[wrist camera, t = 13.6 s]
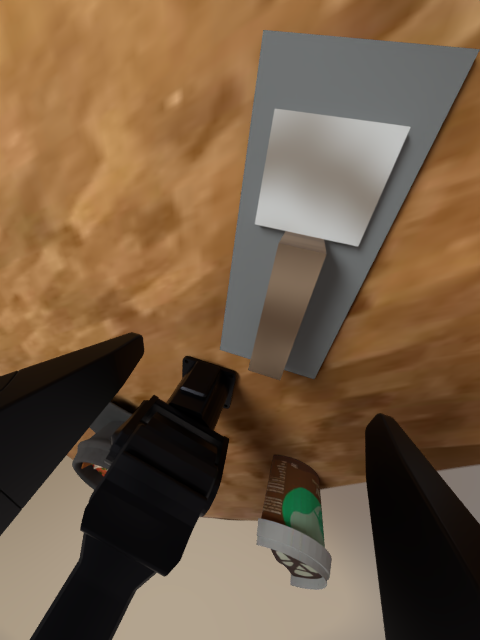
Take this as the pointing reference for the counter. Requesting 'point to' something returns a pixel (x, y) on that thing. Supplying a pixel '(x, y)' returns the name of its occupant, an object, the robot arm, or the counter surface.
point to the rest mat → (347, 102)
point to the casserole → (98, 445)
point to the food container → (295, 523)
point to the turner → (314, 211)
